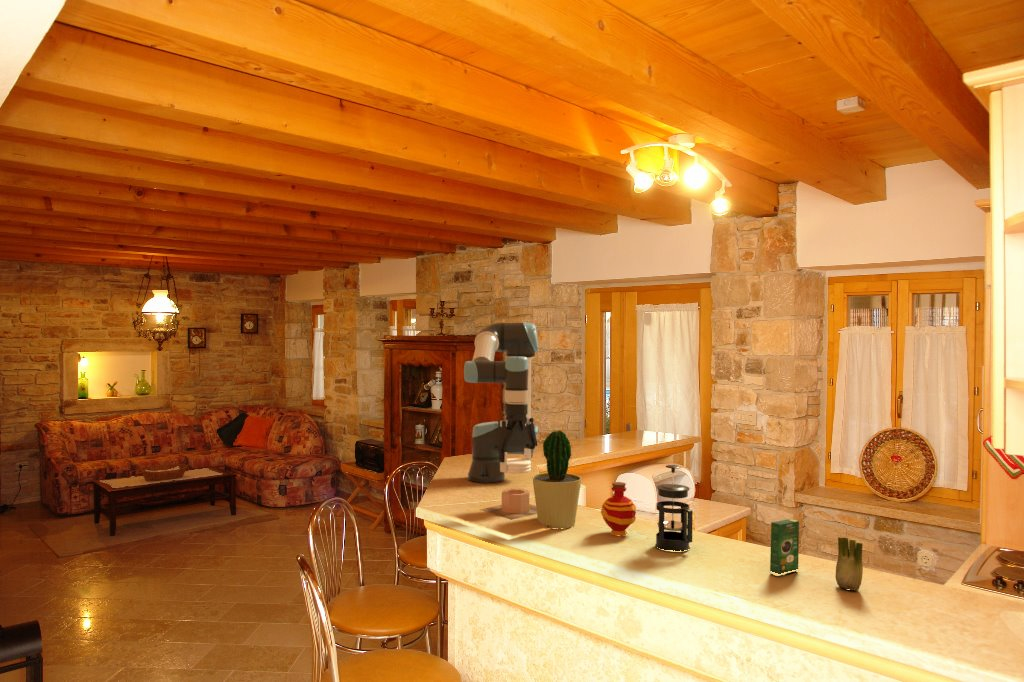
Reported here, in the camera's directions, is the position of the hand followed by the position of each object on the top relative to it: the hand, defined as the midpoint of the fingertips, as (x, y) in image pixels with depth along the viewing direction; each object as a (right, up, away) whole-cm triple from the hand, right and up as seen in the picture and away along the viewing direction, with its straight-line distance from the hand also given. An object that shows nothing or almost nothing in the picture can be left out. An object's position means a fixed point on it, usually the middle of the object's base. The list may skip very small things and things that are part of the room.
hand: (515, 470), depth 225 cm
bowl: (0, -13, 0) cm, 13 cm away
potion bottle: (+30, -15, -22) cm, 41 cm away
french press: (+44, -15, -36) cm, 59 cm away
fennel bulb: (+78, -16, -66) cm, 103 cm away
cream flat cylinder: (0, -1, 0) cm, 1 cm away
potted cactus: (+13, -15, -13) cm, 23 cm away
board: (0, -14, 0) cm, 14 cm away
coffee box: (+67, -15, -55) cm, 88 cm away
